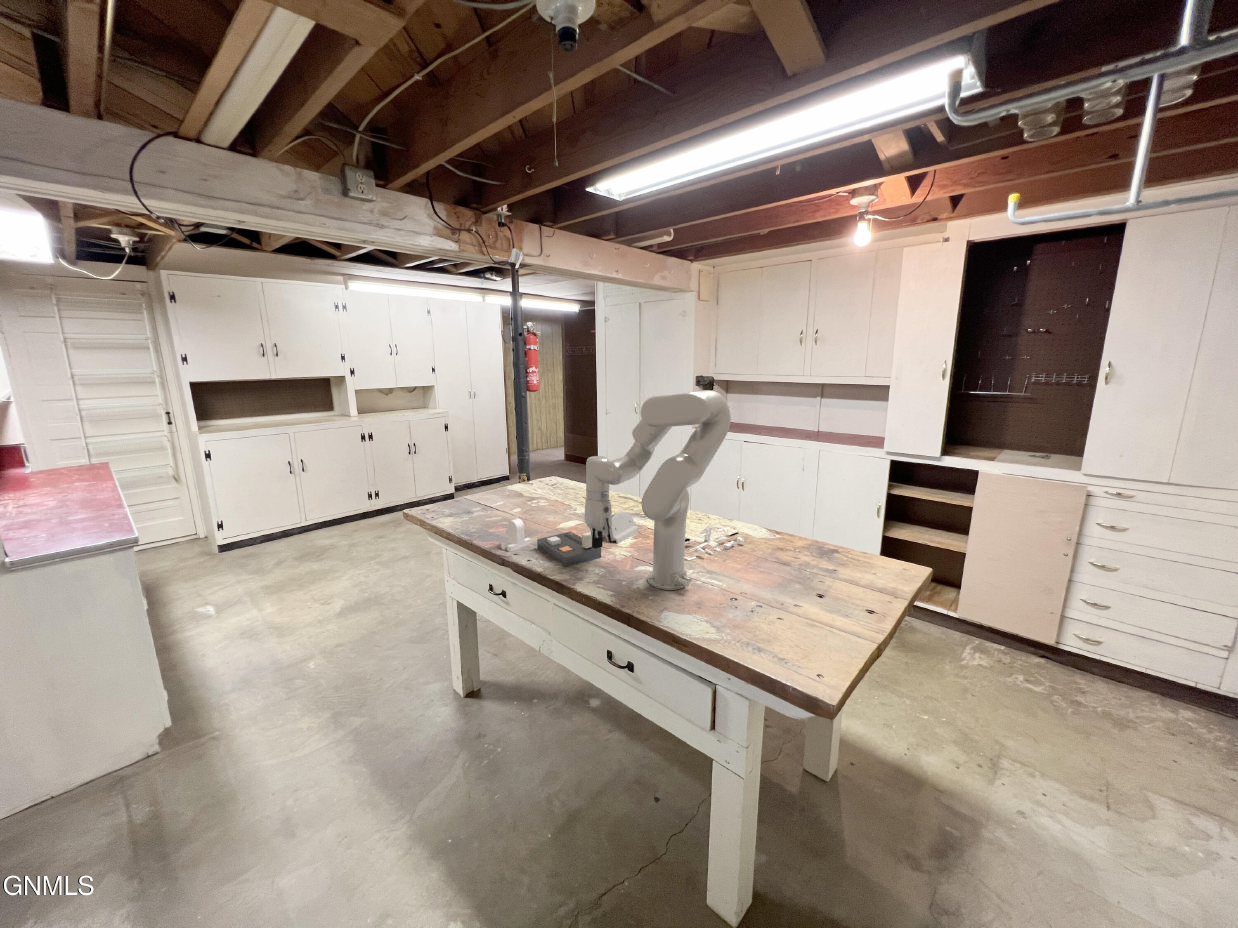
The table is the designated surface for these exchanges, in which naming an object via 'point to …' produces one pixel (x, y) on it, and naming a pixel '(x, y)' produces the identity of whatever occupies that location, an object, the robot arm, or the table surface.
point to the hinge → (621, 527)
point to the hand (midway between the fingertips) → (597, 547)
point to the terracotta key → (565, 549)
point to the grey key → (553, 540)
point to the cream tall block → (587, 540)
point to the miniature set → (708, 533)
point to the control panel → (569, 557)
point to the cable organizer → (515, 536)
